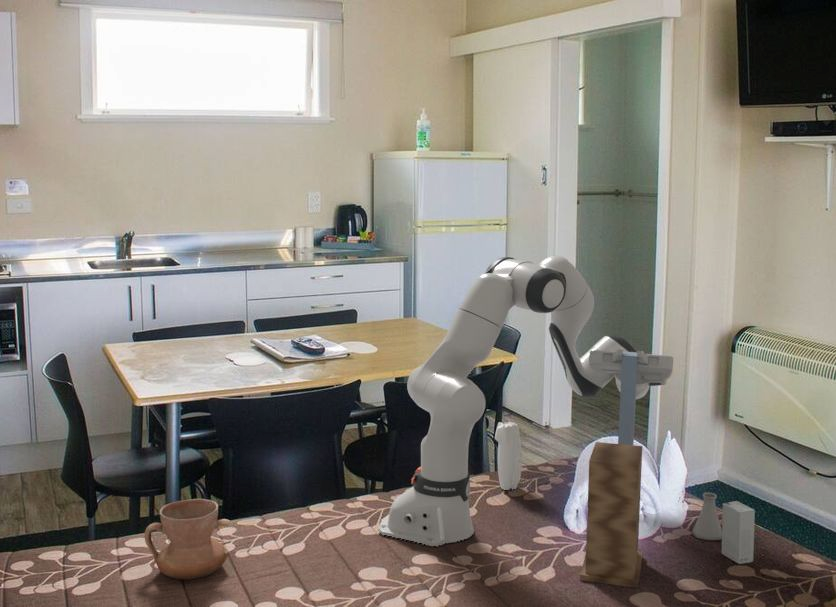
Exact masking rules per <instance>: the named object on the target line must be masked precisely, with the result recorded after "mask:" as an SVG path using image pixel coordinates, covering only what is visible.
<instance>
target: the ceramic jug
mask: <svg viewBox="0 0 836 607" xmlns="http://www.w3.org/2000/svg"><path fill="white" fill-rule="evenodd" d="M158 511H159V512H158V513H159V517H160V522H152V523H150V524H149V525H148V526H146V528H145V530H144V542H145V544H146V547H147V548H148V550H149V551H150V553H151V554H152V556H153V560H154V562H155V564H156V566H157V568H158V570H159V571H160V572H161V573H162V574H163V575H165V576H167V577H169V578H173V579H177V580H195V579H200V578H204V577H207V576H209V575H212V574H213V573H215V572H216V571H218V570H219V569H220V568H222V566H223V565H224V563H225V562H226V561H227V559H228V557H229V555H230V554H229V553H230V552H229V550H228V548H227V549H226V547H225V546H224V545H223V544H222V543H221V542H220V541H218V540H216V539H214V538H212V535H213V533H214V531H215V530H216V529H217V528H219V527H222V526H223V527H227V528H228V527H229V524H230V522H231V521H230V520H229V519H228V518H227V519H226V518H222V519H218V516H219V505H218V503H217V502H216V501H214V500H211V499H206V498H193V499H185V500H177V501H174V502H171V503H170V502H169V503H168V504H165V505H163V506H162V507H161V508H160V509H159V510H158ZM153 531H157V532H160V533H162V534H163V535H166V536H167V538H168V541H169V544H167V545H166V546H165V547H164V548H162V549H161V550H160V551H159V552H158V551H157V549H156V547H155V545H154V543H153V539H152V533H153Z"/></svg>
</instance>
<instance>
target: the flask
mask: <svg viewBox="0 0 836 607" xmlns="http://www.w3.org/2000/svg"><path fill="white" fill-rule="evenodd" d="M702 497H703V503H702V507H701V511H700V513H699V516H698V518H697V520H696V523H695V524H694V526H693V529H692V530H691V534H692V535H693V536H694V537H695V538H696V539H701V540H706V541H722V525H721V523H720V520H719V515H718V513H717V507H716V506H717V505H716V499H717V497H718V495H717V494H716V493H714V492H703V494H702Z"/></svg>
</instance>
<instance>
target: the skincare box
mask: <svg viewBox="0 0 836 607" xmlns="http://www.w3.org/2000/svg"><path fill="white" fill-rule="evenodd" d="M721 514H722V518H721V519H722V521H721V523H722V524H721V529H722V539H721V554H722V555H723V556H725V557H726V558H728V559H729V560H731V561H734V562H735V563H736V564H738V565H744V564H748V563H752V562H754V549H755V548H754V547H755V522H756V521H755V514H756V510H755V509H754V508H752V507H750V506H748V505H746V504H743V503H741V502H740V501H738V500H735V501H729V502H724V503H722V513H721Z"/></svg>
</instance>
